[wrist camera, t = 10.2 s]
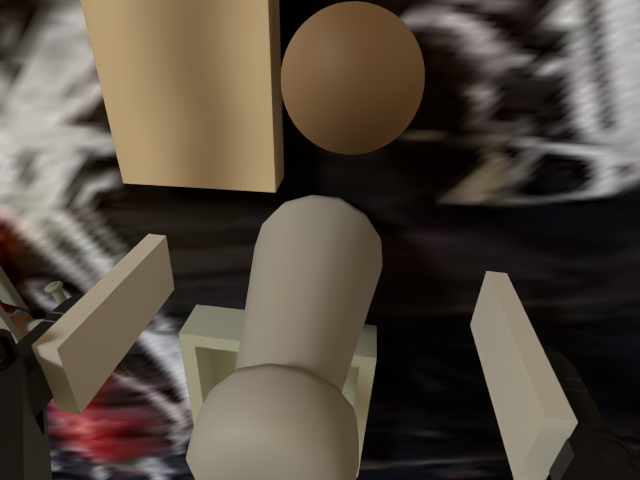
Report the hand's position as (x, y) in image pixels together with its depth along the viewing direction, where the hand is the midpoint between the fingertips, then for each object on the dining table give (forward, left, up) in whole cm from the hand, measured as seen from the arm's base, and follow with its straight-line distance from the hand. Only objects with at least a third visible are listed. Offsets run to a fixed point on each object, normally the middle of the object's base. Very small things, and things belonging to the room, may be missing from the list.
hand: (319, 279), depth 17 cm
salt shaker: (0, 0, -5) cm, 4 cm away
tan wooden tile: (-6, +8, -5) cm, 11 cm away
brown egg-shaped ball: (+1, +8, -4) cm, 9 cm away
